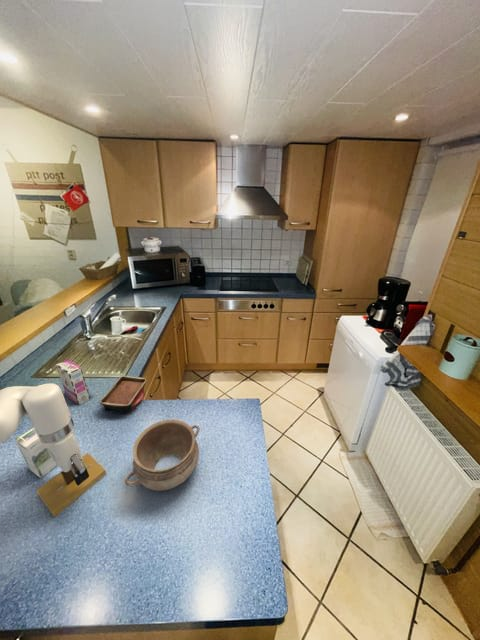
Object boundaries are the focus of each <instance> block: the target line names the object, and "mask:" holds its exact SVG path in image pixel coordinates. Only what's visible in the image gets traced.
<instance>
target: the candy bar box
mask: <svg viewBox="0 0 480 640" xmlns="http://www.w3.org/2000/svg"><path fill="white" fill-rule="evenodd" d="M55 366H56V370H57V372H58V375H59V378H60V380H61V384H62V387H63V389H64V393H65V396H66V397H67V398H68V399H70V400H71V401H73V402H75V403H76V404H77V405H81V404H83V403H85V402H87V401H89V400H90V399H91V397H90V393H89V390H88V386H87V382H86V379H85V376H84V372H83V369H82V367H81V366H79V365H78V364H76V363H74V362H72V361H71V360H70V359H66V360H64V361H61V362H58V363H56V364H55Z"/></svg>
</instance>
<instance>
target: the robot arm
mask: <svg viewBox="0 0 480 640" xmlns="http://www.w3.org/2000/svg"><path fill="white" fill-rule="evenodd" d="M26 416H28V419H29V420H30V423H31V425H32V428H34V429H35V431H36V433H37V435H38V437H39V439H40V441H41V443H43V444H46V447H47V449H48V452H49V454H50V456H51V458H52V459H53V460H54V461H55V463H56V464H57V465H56V466H58V468H59V469H60V470H61V472H62V471H63V472H68V471H69V470H71V471H72V473H73V474H74V475H73V478H74V480H75V482H76V484H77V486H78V485H80V484H81V483H82V482H84V481H85V480H86V479H87V478H88V477H89V474H88V471H87V469H86V467H85V466H84V464H83V462H82V460H83V456H84V455H83V452H82V450H81V447H80V445H79V443H78V441H77V437H76V436H75V434H74V430H75V423H74V419H73V417H72V415H71V411H70V409H69V407H68V404H67V401H66V399H65V397H64V394H63V391H62V389H61V387H60V386H59V385H58V384H56V383H52V382H50V383H49V382H48V383H42V384H38V385H37V386H35V385H34V386H30V385H29V386H24V385H22V386H21V385H15V386H7V387H4V388H2V389H0V445H1V444H3V443H5V442H7V441H9V439H10V438H12V436H13V435H14V434H15V433H16V432H17V431H16V430H17V429H18V428H19V426H20V424H21V423H22V421H23V419H24V417H26ZM73 463H74V464H73ZM72 464H73V465H72ZM74 466H76V467H77V469H78V470H77V471H75V470H74V468H73V467H74Z"/></svg>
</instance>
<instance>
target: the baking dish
mask: <svg viewBox="0 0 480 640" xmlns="http://www.w3.org/2000/svg"><path fill="white" fill-rule="evenodd" d="M146 383H147V379H146V378H144V377H141V376H131V375H122V376H120V377H119V378H118V379H117V380H116V381H115V383H114V384H113V385H112V386H111V388H110V389H109V390H108V391H107V392H106V393H105V394H104V396H103V397H102V398H101V399H100V400H99V404H100V405H101V406H103V407H104V410H105V411H108V410H111V409H112V410H115V411H116V412H117V411H118V412H121V413H123V414H132V412H134V411H135V409H136V408H137V406H138V404H139V403H140V402H141V401H142V400H143V399H144V397H145V396H146V395H145V394H146V393H145V387H146Z"/></svg>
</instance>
